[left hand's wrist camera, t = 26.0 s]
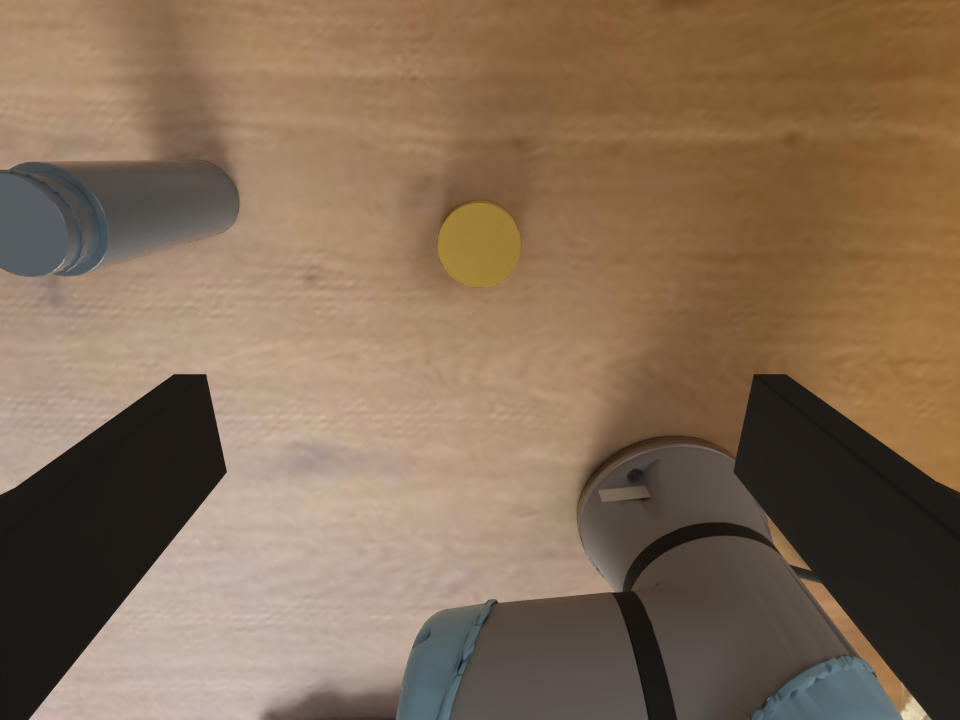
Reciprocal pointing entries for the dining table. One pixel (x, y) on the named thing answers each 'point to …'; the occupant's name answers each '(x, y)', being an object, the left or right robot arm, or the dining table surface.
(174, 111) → the dining table surface
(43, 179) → the grey tall cylinder
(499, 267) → the lid
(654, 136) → the dining table surface
